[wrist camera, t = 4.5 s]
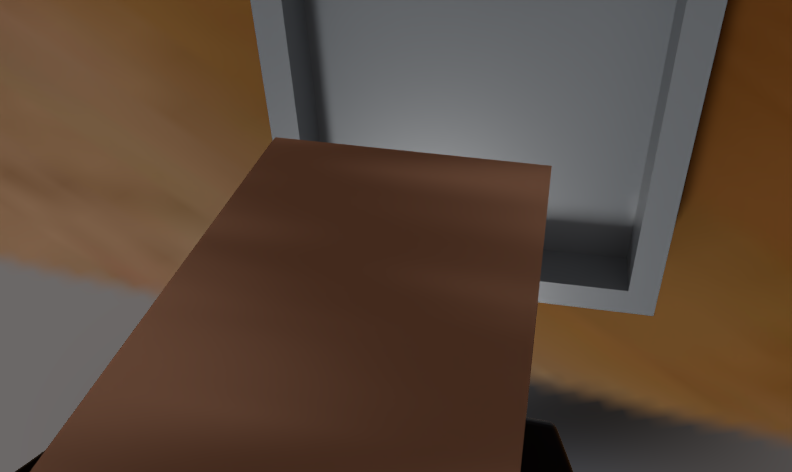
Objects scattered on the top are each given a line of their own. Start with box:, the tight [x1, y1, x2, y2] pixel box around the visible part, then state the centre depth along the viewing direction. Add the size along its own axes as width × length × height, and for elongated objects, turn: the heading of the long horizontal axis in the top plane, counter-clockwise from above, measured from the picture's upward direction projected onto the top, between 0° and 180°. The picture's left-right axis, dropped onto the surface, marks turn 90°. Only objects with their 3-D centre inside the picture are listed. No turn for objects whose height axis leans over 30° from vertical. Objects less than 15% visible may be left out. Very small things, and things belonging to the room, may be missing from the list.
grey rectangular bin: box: [250, 0, 728, 316], centre depth 19 cm, size 11×11×2 cm
